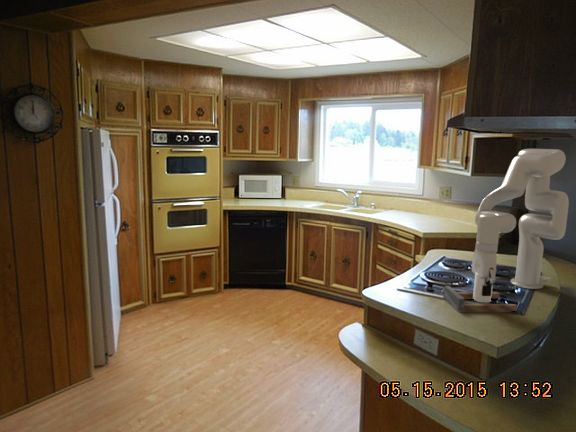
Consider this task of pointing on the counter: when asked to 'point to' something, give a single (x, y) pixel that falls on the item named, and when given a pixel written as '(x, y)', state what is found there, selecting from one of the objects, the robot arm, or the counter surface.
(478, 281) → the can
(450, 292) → the guide track
